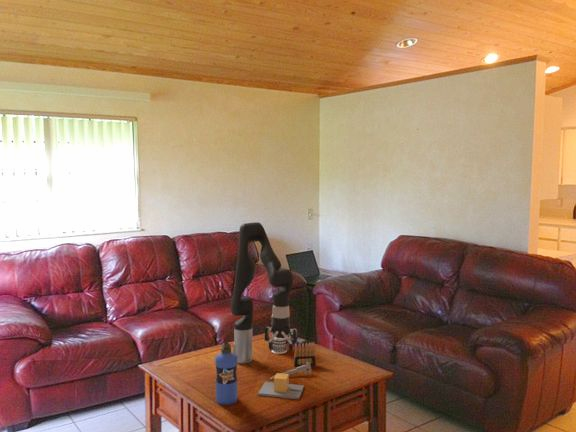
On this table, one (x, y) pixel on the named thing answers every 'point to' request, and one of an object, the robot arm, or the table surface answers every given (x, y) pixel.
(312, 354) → the ammunition clip
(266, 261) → the robot arm
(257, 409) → the table surface
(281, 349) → the decorative candle
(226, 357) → the water bottle
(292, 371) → the caliper
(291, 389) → the post board
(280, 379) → the mustard yellow cube
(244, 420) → the table surface
